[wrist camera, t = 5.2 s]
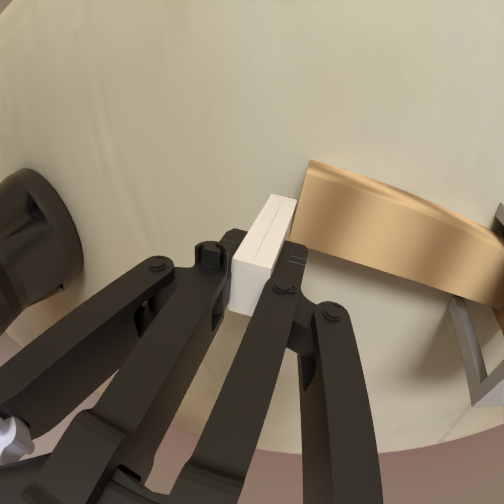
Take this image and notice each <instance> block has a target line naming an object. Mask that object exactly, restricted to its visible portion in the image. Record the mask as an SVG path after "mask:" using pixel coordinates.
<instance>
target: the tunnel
mask: <svg viewBox="0 0 504 504" xmlns="http://www.w3.org/2000/svg"><path fill="white" fill-rule="evenodd" d="M496 217H497V218H498V220H499V221H500V222H501V223H502V224H503V225H504V204H502V203H500V206H499V208H498V211H497V213H496ZM448 309H449V312H450V315H451V318H452V321H453V325H454V328H455V332H456V335H457V339H458V342H459V346H460V350H461V354H462V358H463V363H464V367H465V372H466V376H467V381H468V387H469V392H470V398H471V404H472V407H494V406H504V360H503V361H502V362H501V363H500V364H499V365H498V366H497V367H496V368H495V369H494V370H493V371H492V373H491V374H490V375H489V376H487V372H486V368H485V364H484V360H483V357H482V353H481V350H480V346H479V343H478V340H477V337H476V334H475V331H474V328H473V325H472V322H471V319H470V316H469V314H468V311H467V308H466V306H465V303H464V301H463V299H462V298H458V297H454V296H453V298H452V300H451V301H450V303H449V304H448Z"/></svg>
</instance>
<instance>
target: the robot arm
mask: <svg viewBox="0 0 504 504" xmlns="http://www.w3.org/2000/svg"><path fill="white" fill-rule="evenodd" d="M297 201H298V200H295V199H291V198H287V197H283V196H278V195H274V194H271V196H270V198H269V199H268V201H267V202H266V204H265V206H264V207H263V209H262V210H261V212H260V214H259V215H258V217H257V219H256V220H255V222H254V223H253V225H252V227H251V228H250V230H249V232H247V231H243V230H239V229H235V228H234V229H232V230H230V231H228V232H226V233H225V235H224V236H223V237H222V239H221V240H220V241H219V242H216V241H204V242H201V243H199V244H197V245H196V246H195V265H194V266H193V267H190V268H183V267H174V263H173V261H172V260H171V259H170V258H168V257H165V256H153V257H150V258H148V259H146V260H144V261H143V262H141V263H140V264H138V265H137V266H135V267H134V268H132V269H131V270H129V271H128V272H126V273H125V274H123V275H122V276H121V277H119V278H118V279H116V280H115V281H113V282H112V283H110V284H109V285H108V286H106V287H105V288H103V289H102V290H100V291H99V292H98V293H96V294H95V295H93V296H92V297H91V298H89V299H88V300H86V301H85V302H84V303H82V304H81V305H80V306H78V307H77V308H75V309H74V310H73V311H71V312H70V313H69V314H67V315H66V316H65V317H63V318H62V319H61V320H59V321H58V322H57V323H55V324H54V325H53V326H51V327H50V328H49V329H47V330H46V331H45V332H44V333H42V334H41V335H40V336H38V337H37V338H36V339H35V340H33V341H32V342H31V343H29V344H28V345H27V346H26V347H24V348H23V349H22V350H21V351H19V352H18V353H17V354H16V355H15V356H13V357H12V358H11V359H10V360H9V361H7V362H6V363H5V364H4V365H3V366H1V367H0V504H237V502H238V499H239V496H240V494H241V491H242V488H243V485H244V481H245V477H246V474H247V471H248V468H249V465H250V463H251V460H252V457H253V454H254V451H255V448H256V445H257V442H258V439H259V436H260V433H261V430H262V427H263V424H264V420H265V417H266V414H267V411H268V408H269V404H270V401H271V398H272V394H273V391H274V388H275V384H276V381H277V377H278V374H279V370H280V367H281V363H282V360H283V356H284V352H285V349H286V347H287V348H289V349H291V350H292V351H294V352H296V353H297V354H298V355H297V359H298V375H299V392H300V411H301V433H302V464H303V504H383V495H382V484H381V475H380V467H379V460H378V452H377V445H376V439H375V432H374V426H373V421H372V415H371V409H370V404H369V399H368V394H367V389H366V384H365V379H364V374H363V370H362V365H361V361H360V356H359V352H358V348H357V344H356V340H355V335H354V331H353V328H352V324H351V320H350V316H349V314H348V312H347V310H346V309H345V308H344V307H343V306H341V305H339V304H338V303H335V302H331V301H326V302H321V303H319V304H318V305H316V304H314V303H313V302H311V301H309V300H308V299H307V298H306V297H305V296H304V295H303V294H302V292H301V282H302V278H303V273H304V269H305V264H306V260H307V255H308V251H307V248H306V246H305V245H302V244H298V243H294V242H290V241H288V239H289V235H290V232H291V228H292V225H293V220H294V215H295V210H296V206H297ZM81 270H82V252H81V246H80V242H79V238H78V235H77V232H76V229H75V227H74V224H73V222H72V219H71V217H70V215H69V213H68V211H67V209H66V207H65V205H64V204H63V202H62V200H61V199H60V197H59V195H58V194H57V193H56V191H55V190H54V188H53V187H52V186H51V185H50V183H49V182H48V181H47V180H46V179H45V178H44V177H43V176H41V175H40V174H39V173H37V172H36V171H34V170H31V169H27V168H25V169H21V170H19V171H17V172H15V173H13V174H11V175H9V176H8V177H6V178H5V179H4V180H3V181H2V182H1V183H0V336H1V335H2V334H3V333H4V331H5V330H6V329H7V328H8V327H9V326H10V324H11V323H12V322H13V321H14V320H15V319H16V318H17V317H18V316H19V314H20V313H21V312H22V311H23V310H24V309H26V308H27V307H29V306H31V305H33V304H35V303H38V302H40V301H42V300H44V299H46V298H48V297H50V296H52V295H54V294H56V293H59V292H61V291H63V290H65V289H66V288H68V287H69V286H70V285H71V284H72V283H73V282H74V281H75V280H76V279H77V278H78V277H79V275H80V273H81ZM146 301H147V302H146ZM143 303H144V304H143ZM227 304H228V310H230V311H233V312H237V313H240V314H244V315H247V316H250V317H251V320H250V322H249V325H248V327H247V329H246V332H245V334H244V337H243V339H242V341H241V344H240V346H239V349H238V351H237V353H236V356H235V358H234V361H233V363H232V365H231V368H230V370H229V372H228V375H227V377H226V379H225V382H224V384H223V386H222V389H221V391H220V393H219V396H218V398H217V400H216V403H215V405H214V407H213V409H212V412H211V414H210V416H209V419H208V421H207V423H206V425H205V428H204V430H203V432H202V434H201V437H200V439H199V441H198V443H197V446H196V448H195V450H194V452H193V454H192V456H191V458H190V459H189V460H188V461H187V462H186V463H185V465H184V467H183V468H182V470H181V472H180V474H179V476H178V478H177V480H176V482H175V484H174V486H173V488H172V490H171V492H170V495H165V494H160V493H155V492H152V491H151V490H150V489H148V488H147V487H145V486H144V484H145V482H146V480H147V478H148V476H149V474H150V472H151V470H152V467H153V463H154V456H155V454H156V451H157V449H158V447H159V445H160V443H161V441H162V439H163V437H164V435H165V434H166V432H167V430H168V427H169V426H170V424H171V422H172V420H173V418H174V416H175V414H176V412H177V410H178V408H179V406H180V404H181V402H182V400H183V398H184V396H185V394H186V392H187V390H188V388H189V386H190V384H191V382H192V380H193V378H194V376H195V374H196V372H197V370H198V368H199V366H200V364H201V362H202V360H203V358H204V356H205V354H206V352H207V350H208V348H209V346H210V344H211V342H212V340H213V338H214V336H215V334H216V332H217V330H218V328H219V326H220V325H221V323H222V321H223V318H224V311H225V308H226V306H227ZM119 368H120V369H119ZM118 369H119V370H118ZM117 370H118V372H117V373H116V375H115V376H114V378H113V379H112V381H111V382H110V384H109V385H108V387H107V388H106V390H105V391H104V393H103V394H102V396H101V397H100V399H99V400H98V402H97V403H96V405H95V406H94V407H93V408H91V409H86V410H82V411H81V412H79V413H78V414H77V415H76V416H75V417H74V419H73V420H72V421H71V423H70V425H69V426H68V428H67V429H66V431H65V432H64V434H63V435H62V437H61V439H60V440H59V442H58V443H57V445H56V446H55V448H54V450H53V451H52V453H48V454H45V455H41V456H37V457H34V458H30V459H26V460H22V461H19V459H20V458H21V457H22V456H23V455H25V454H32V453H33V452H34V449H35V446H34V443H33V441H32V440H33V439H35V438H38V437H40V436H42V435H44V434H45V433H47V432H49V431H50V430H51V429H53V428H54V427H55V426H56V425H57V424H59V423H60V422H61V421H62V420H63V419H64V418H65V417H66V416H67V415H69V414H70V413H71V412H72V411H73V410H74V409H75V408H76V407H77V406H78V405H79V404H81V403H82V402H83V401H84V400H85V399H86V398H87V397H88V396H89V395H90V394H92V393H93V392H94V391H95V390H96V389H97V388H98V387H99V386H100V385H102V384H103V383H104V382H105V381H106V380H107V379H108V378H109V377H110V376H111V375H113V374H114V373H115V372H116V371H117Z"/></svg>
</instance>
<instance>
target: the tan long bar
mask: <svg viewBox="0 0 504 504" xmlns="http://www.w3.org/2000/svg"><path fill="white" fill-rule="evenodd" d="M288 241H290V242H294V243H298V244H302V245H305V246H306V247H307V248H310V249H313V250H317V251H320V252H323V253H327V254H330V255H333V256H336V257H340V258H343V259H346V260H349V261H353V262H356V263H359V264H362V265H365V266H369V267H372V268H375V269H378V270H381V271H384V272H388V273H391V274H394V275H397V276H400V277H403V278H406V279H409V280H413V281H416V282H419V283H422V284H425V285H428V286H431V287H434V288H437V289H440V290H443V291H446V292H449V293H452V294H455V295H458V296H461V297H464V298H467V299H470V300H473V301H476V302H479V303H481V304H484V305H487V306H490V307H493V308H496V309H499V310H500V309H501V307H502V306H503V305H504V237H503V236H501V235H499V234H497V233H495V232H493V231H492V230H490V229H488V228H486V227H484V226H482V225H480V224H478V223H476V222H474V221H472V220H470V219H468V218H466V217H464V216H461V215H459V214H457V213H455V212H453V211H451V210H448V209H446V208H444V207H442V206H440V205H437V204H435V203H433V202H430V201H428V200H426V199H423V198H421V197H418V196H416V195H413V194H411V193H408V192H406V191H403V190H401V189H398V188H395V187H393V186H390V185H387V184H385V183H382V182H379V181H376V180H374V179H371V178H368V177H365V176H362V175H359V174H356V173H353V172H350V171H347V170H344V169H341V168H337V167H334V166H331V165H328V164H324V163H321V162H317V161H314V160H310V163H309V166H308V170H307V173H306V176H305V180H304V184H303V188H302V191H301V195H300V199H299V203H298V206H297V210H296V214H295V217H294V221H293V225H292V228H291V232H290V235H289V239H288Z"/></svg>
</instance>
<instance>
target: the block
mask: <svg viewBox="0 0 504 504" xmlns="http://www.w3.org/2000/svg"><path fill="white" fill-rule="evenodd" d="M492 309H493V311H494V313H495V315H496V318H497V320H498V322H499V325H500V327H501V330H502V332H503V335H504V305H503V306H502V307H501V309H500V310H499V309H496V308H493V307H492Z"/></svg>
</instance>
